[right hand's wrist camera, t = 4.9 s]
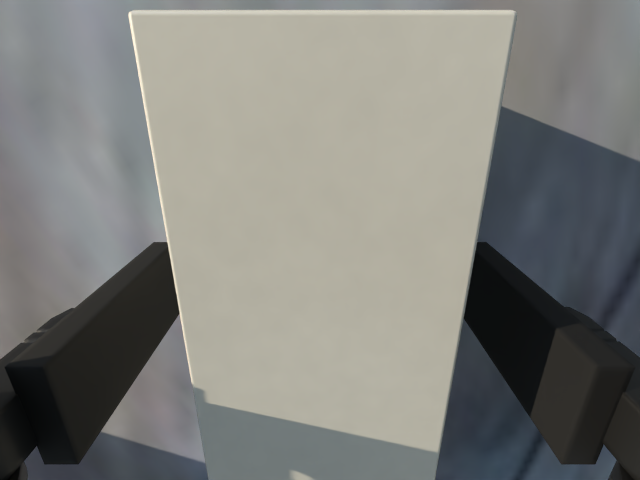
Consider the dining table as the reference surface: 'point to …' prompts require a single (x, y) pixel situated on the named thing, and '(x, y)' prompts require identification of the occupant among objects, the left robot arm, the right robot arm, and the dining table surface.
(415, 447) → the beam
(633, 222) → the dining table surface
